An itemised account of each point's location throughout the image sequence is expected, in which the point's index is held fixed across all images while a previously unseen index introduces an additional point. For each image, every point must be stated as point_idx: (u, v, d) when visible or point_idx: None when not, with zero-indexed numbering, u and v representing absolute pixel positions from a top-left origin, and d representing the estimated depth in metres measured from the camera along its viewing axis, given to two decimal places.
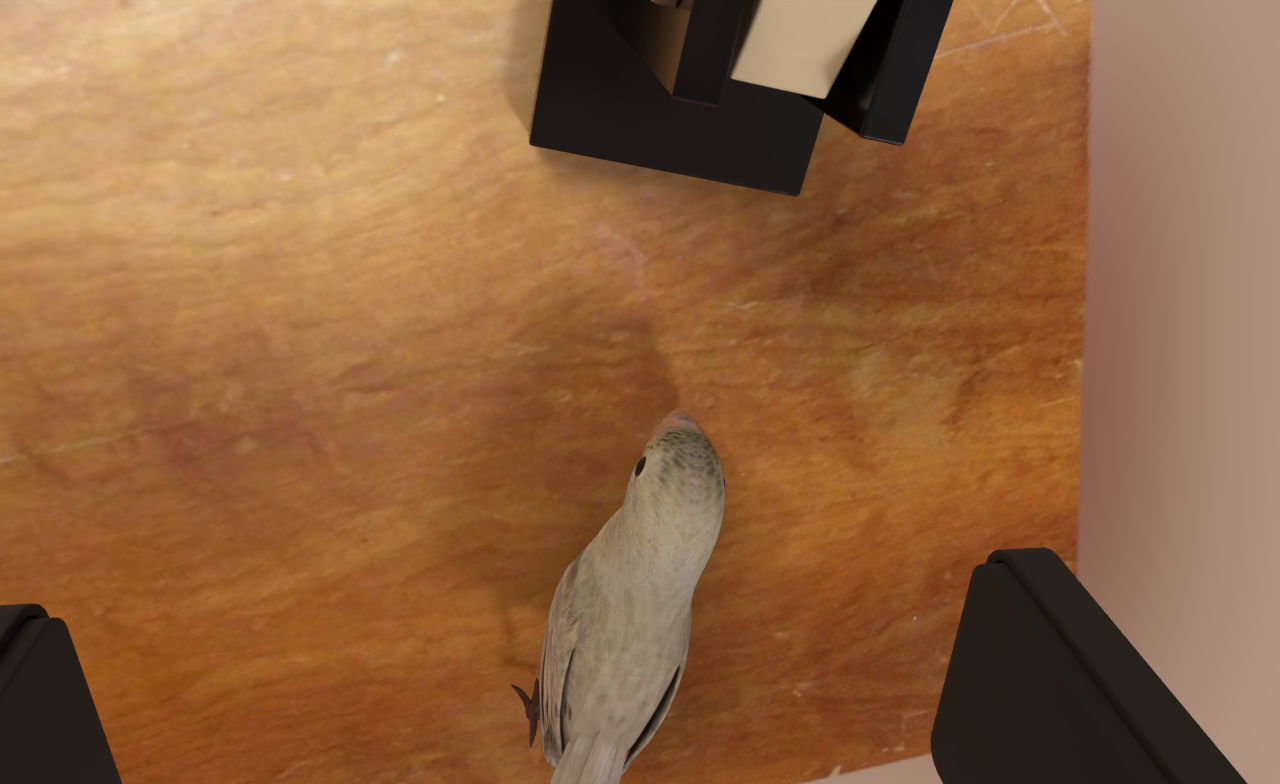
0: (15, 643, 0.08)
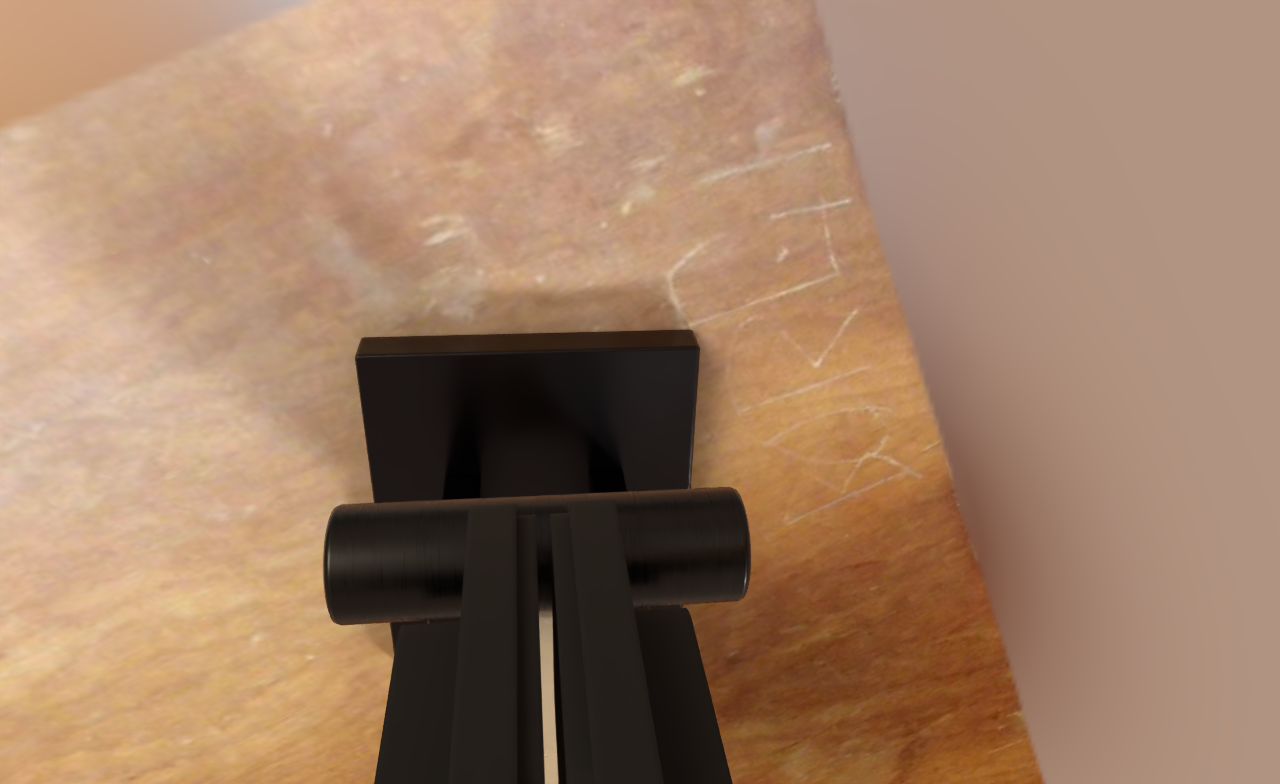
0: (523, 531, 0.10)
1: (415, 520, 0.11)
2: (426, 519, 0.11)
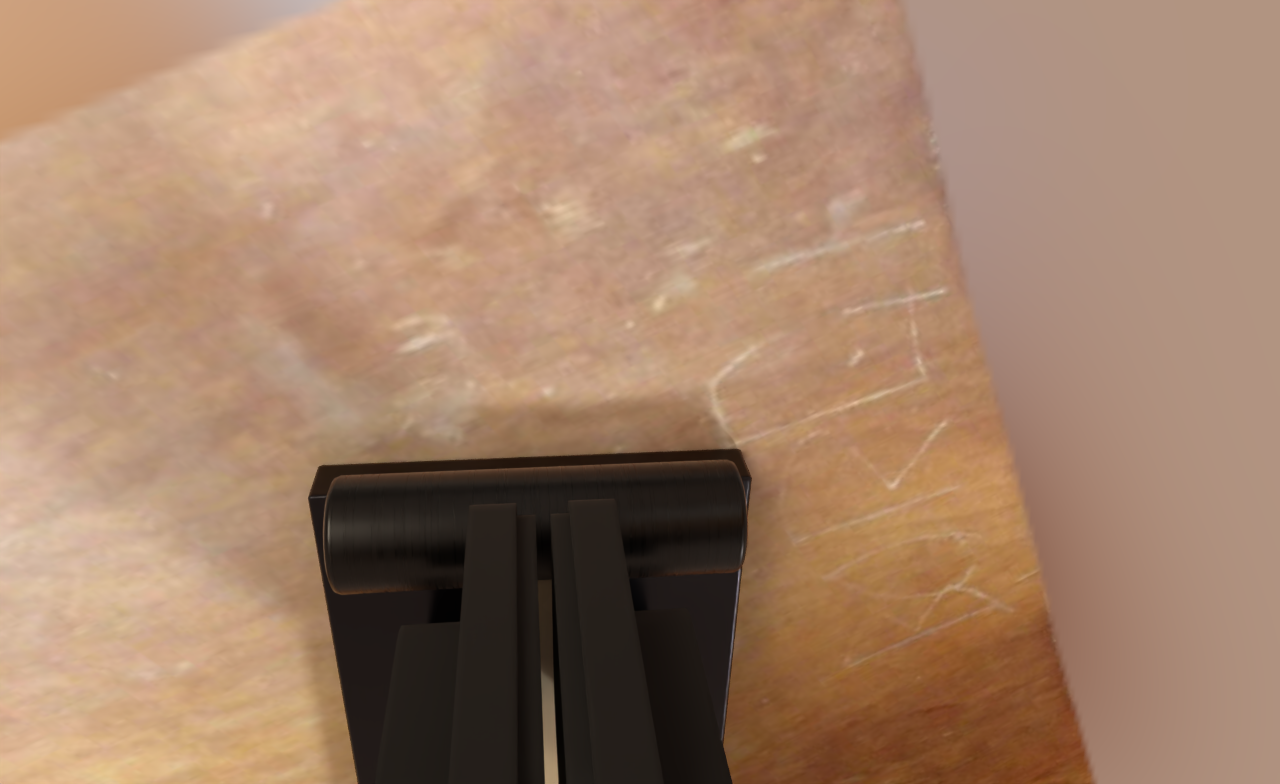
0: (522, 531, 0.09)
1: (418, 472, 0.11)
2: (428, 472, 0.11)
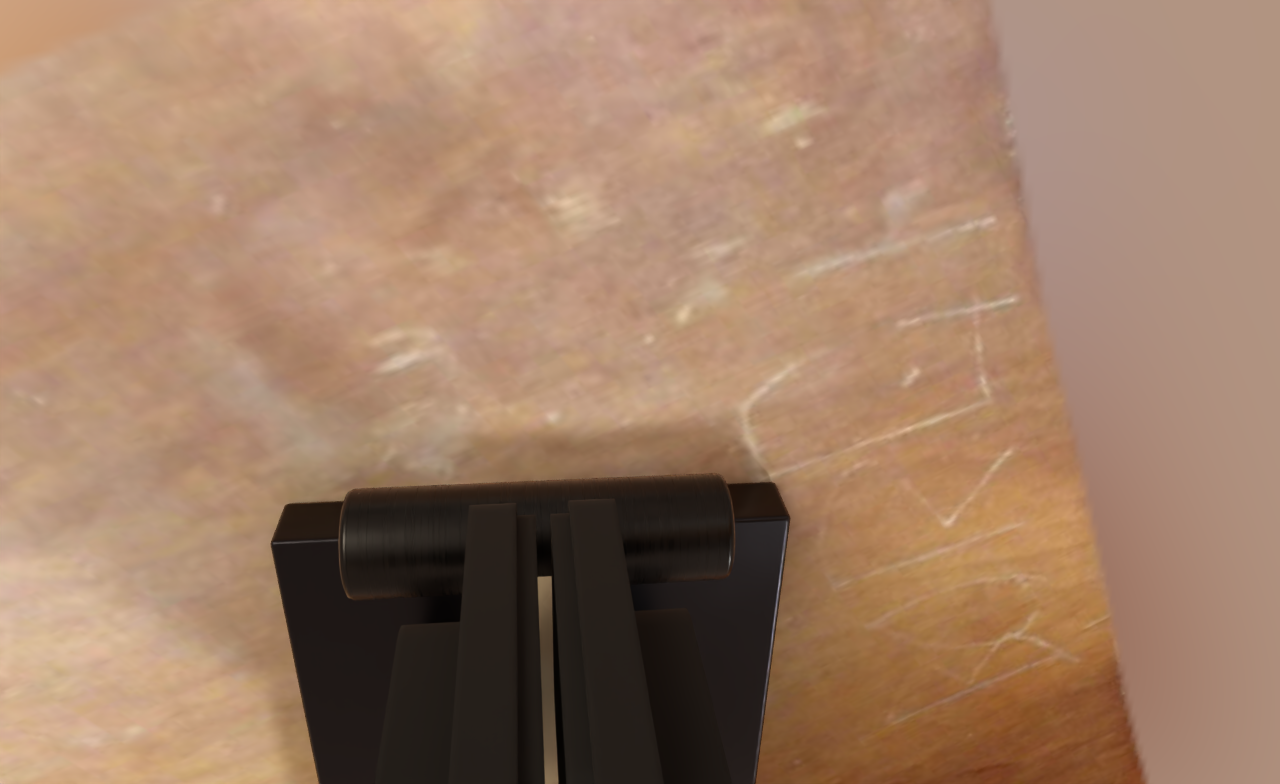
0: (523, 532, 0.10)
1: None
2: None
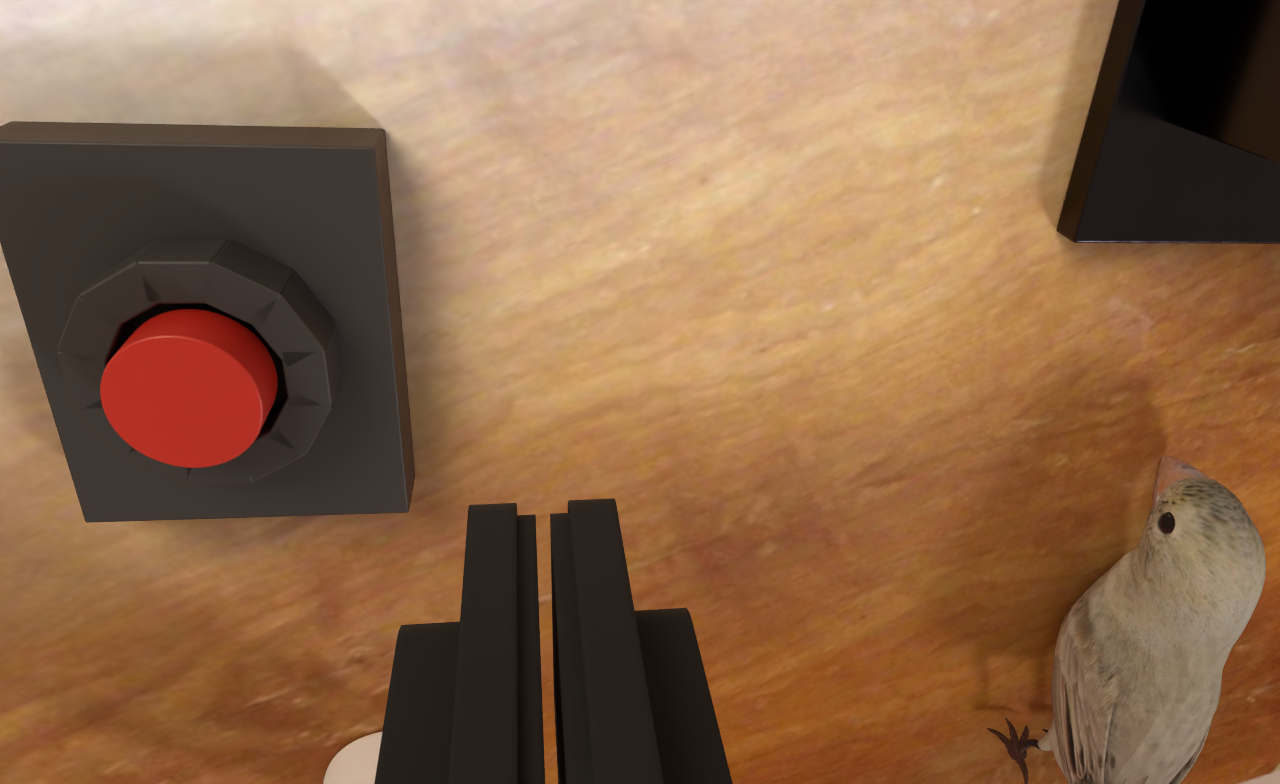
0: (523, 532, 0.09)
1: None
2: None
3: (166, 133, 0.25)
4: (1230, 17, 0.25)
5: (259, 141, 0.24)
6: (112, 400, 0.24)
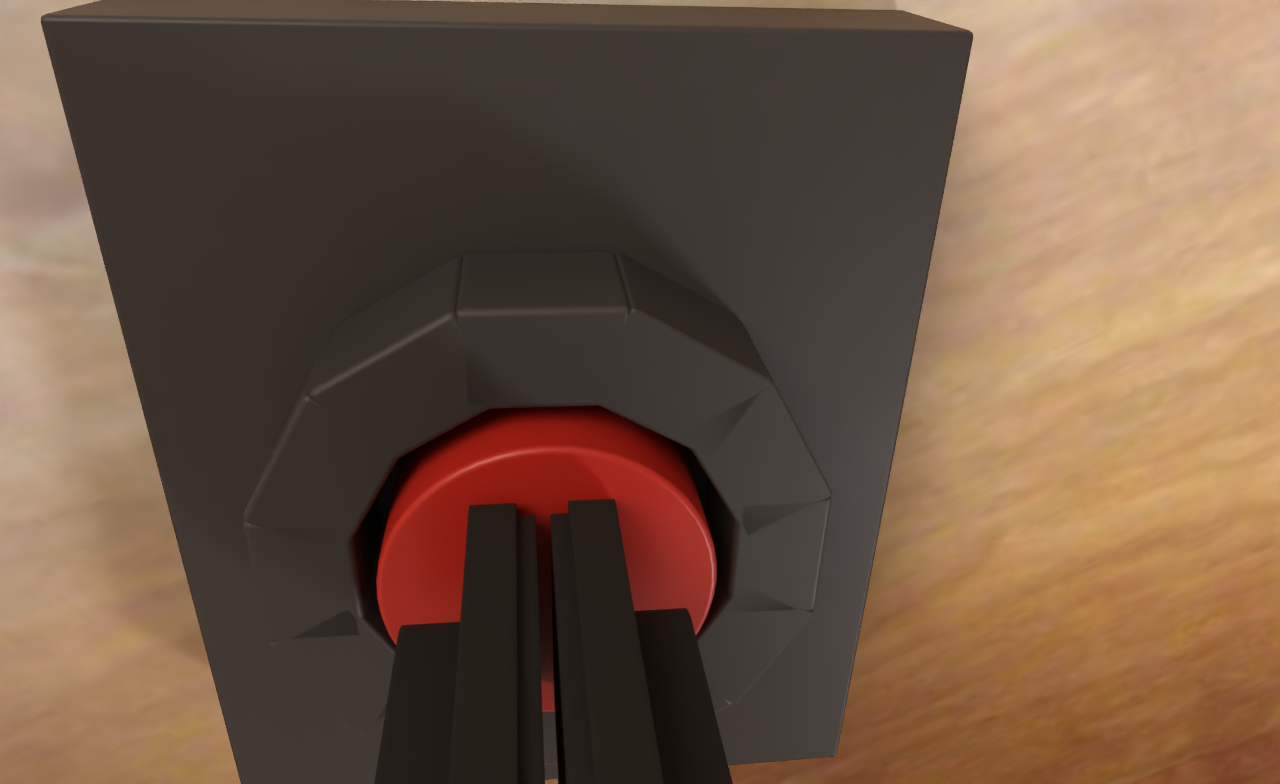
0: (523, 531, 0.09)
1: None
2: None
3: (482, 11, 0.11)
4: None
5: (708, 22, 0.10)
6: (403, 590, 0.10)
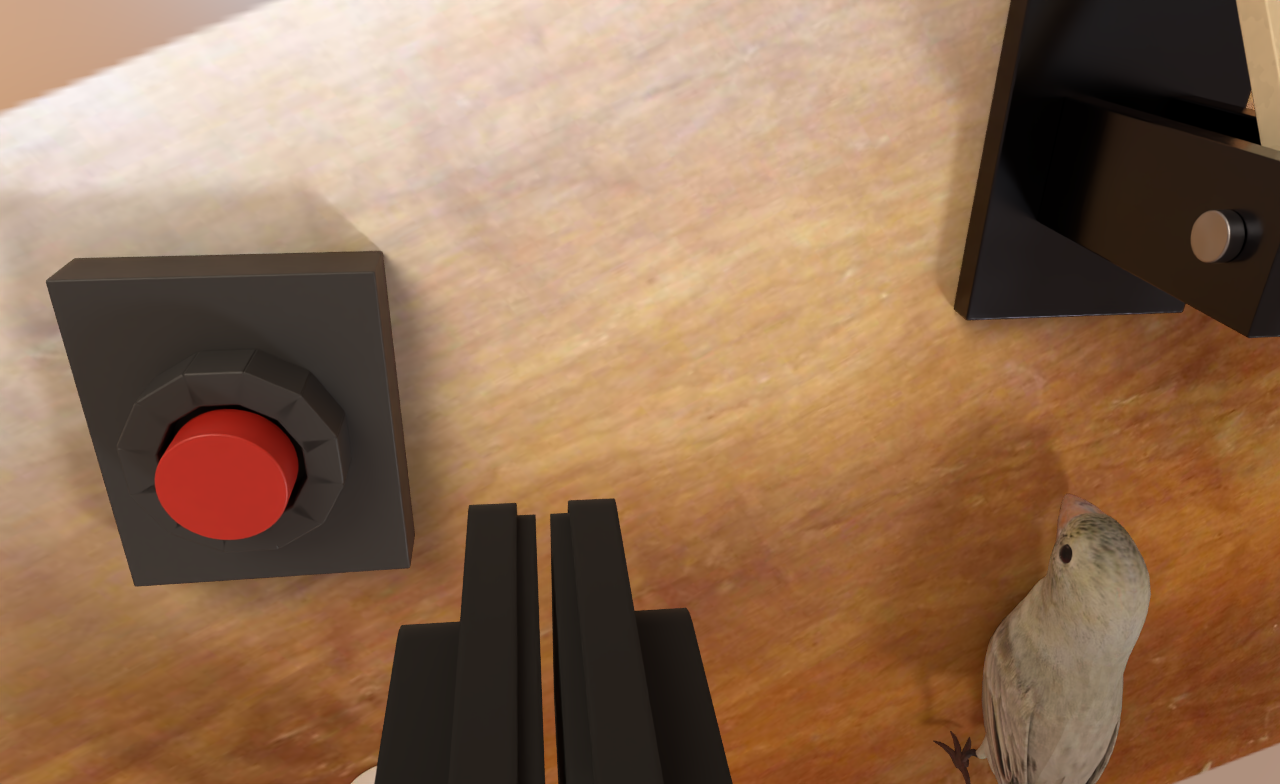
0: (523, 532, 0.10)
1: None
2: None
3: (203, 265, 0.30)
4: (1073, 140, 0.31)
5: (280, 270, 0.30)
6: (164, 487, 0.29)
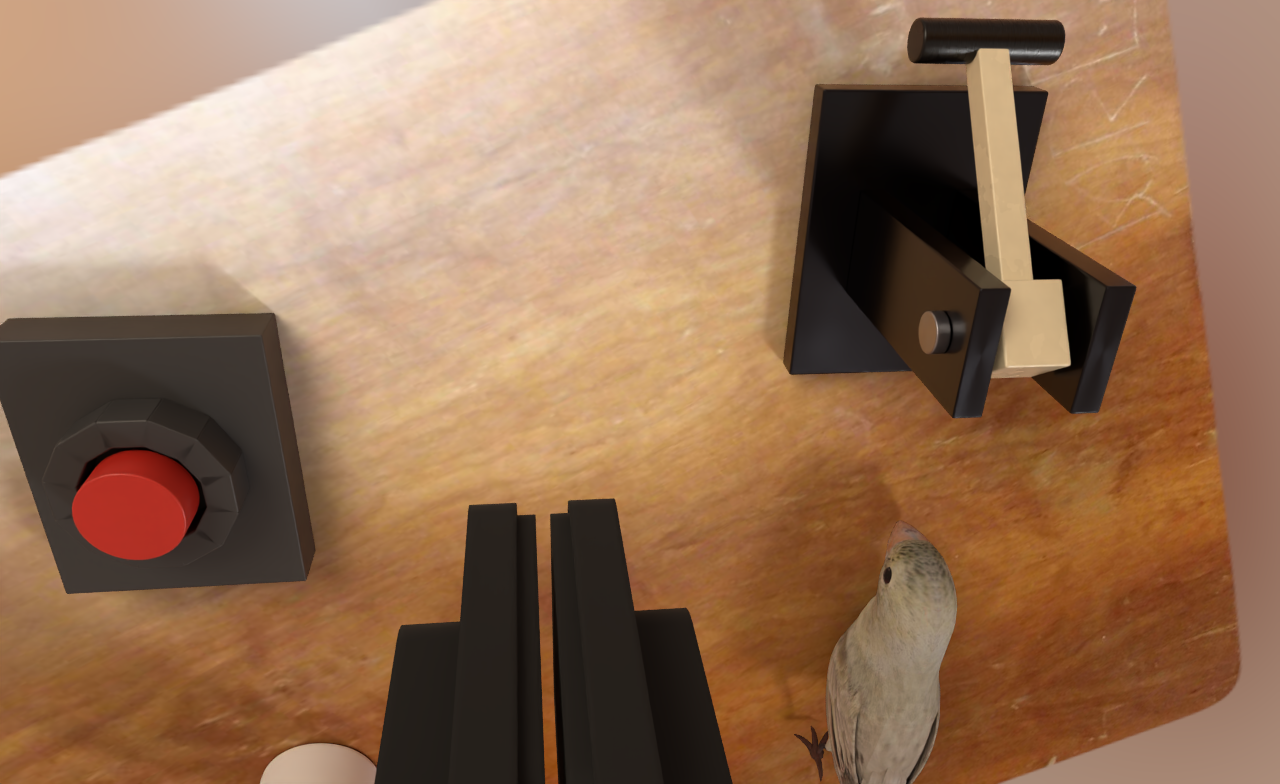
0: (522, 531, 0.10)
1: None
2: None
3: (117, 326, 0.35)
4: (865, 228, 0.36)
5: (181, 332, 0.35)
6: (80, 517, 0.34)
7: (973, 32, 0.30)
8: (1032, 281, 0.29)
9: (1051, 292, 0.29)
